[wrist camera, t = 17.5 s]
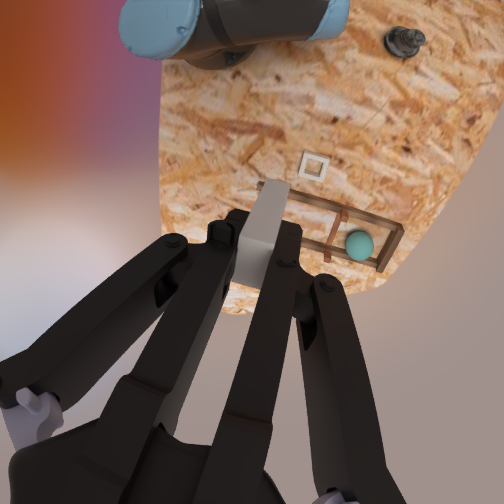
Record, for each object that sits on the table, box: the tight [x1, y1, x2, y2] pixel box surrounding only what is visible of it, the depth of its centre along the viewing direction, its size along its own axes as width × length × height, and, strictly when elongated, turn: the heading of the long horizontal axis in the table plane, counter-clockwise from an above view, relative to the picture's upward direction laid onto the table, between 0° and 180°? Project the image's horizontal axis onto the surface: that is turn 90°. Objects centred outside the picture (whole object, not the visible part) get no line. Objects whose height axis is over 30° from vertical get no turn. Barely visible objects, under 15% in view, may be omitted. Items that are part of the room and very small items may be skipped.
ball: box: [345, 231, 374, 261], centre depth 53 cm, size 6×6×6 cm
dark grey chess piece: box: [384, 26, 426, 58], centre depth 26 cm, size 6×6×12 cm
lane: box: [256, 181, 405, 273], centre depth 54 cm, size 31×11×5 cm, turn 80°
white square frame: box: [298, 150, 330, 183], centre depth 48 cm, size 5×5×2 cm
